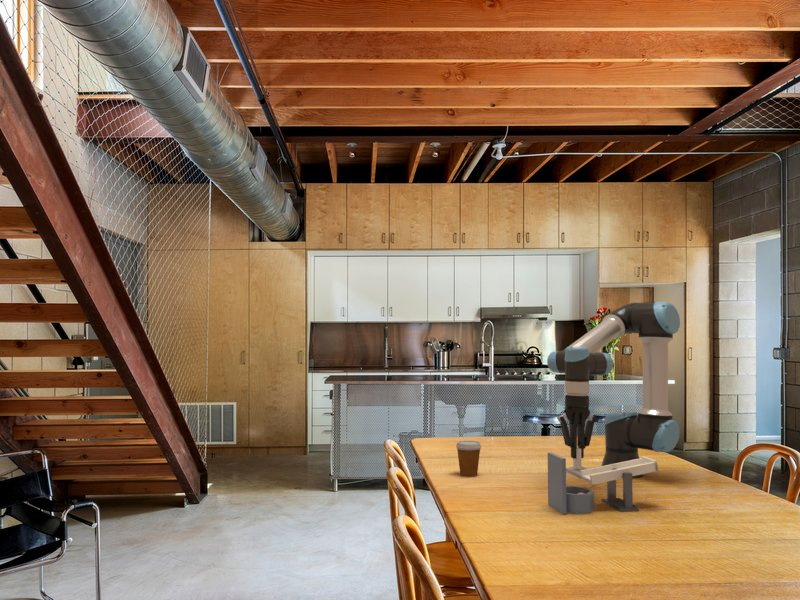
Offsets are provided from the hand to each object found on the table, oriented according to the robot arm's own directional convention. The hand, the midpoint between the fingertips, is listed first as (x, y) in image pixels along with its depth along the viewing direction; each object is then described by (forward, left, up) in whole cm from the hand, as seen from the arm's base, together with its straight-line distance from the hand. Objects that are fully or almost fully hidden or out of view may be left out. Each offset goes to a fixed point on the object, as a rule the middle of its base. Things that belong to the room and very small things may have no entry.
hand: (577, 468), depth 199 cm
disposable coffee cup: (+24, -39, -10) cm, 47 cm away
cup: (+6, +10, -10) cm, 15 cm away
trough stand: (-9, +10, -10) cm, 16 cm away
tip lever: (-9, +5, -1) cm, 10 cm away
